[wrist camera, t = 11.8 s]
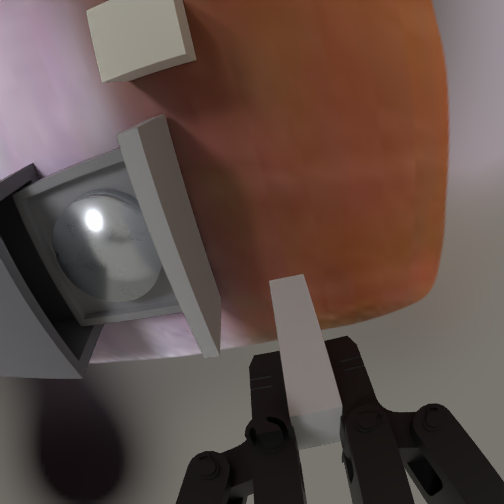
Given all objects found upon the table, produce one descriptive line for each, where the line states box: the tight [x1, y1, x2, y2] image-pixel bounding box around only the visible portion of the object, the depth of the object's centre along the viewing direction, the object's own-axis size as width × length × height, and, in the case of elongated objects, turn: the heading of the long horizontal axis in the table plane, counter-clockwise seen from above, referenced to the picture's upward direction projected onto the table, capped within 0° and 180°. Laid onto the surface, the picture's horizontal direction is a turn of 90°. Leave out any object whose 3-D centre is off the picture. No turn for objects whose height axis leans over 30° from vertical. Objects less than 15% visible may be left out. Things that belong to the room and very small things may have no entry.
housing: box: [0, 163, 104, 379], centre depth 22 cm, size 17×14×8 cm
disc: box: [53, 189, 162, 302], centre depth 22 cm, size 9×9×2 cm
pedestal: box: [86, 0, 197, 83], centre depth 15 cm, size 5×5×5 cm
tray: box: [12, 114, 222, 358], centre depth 21 cm, size 17×14×7 cm
